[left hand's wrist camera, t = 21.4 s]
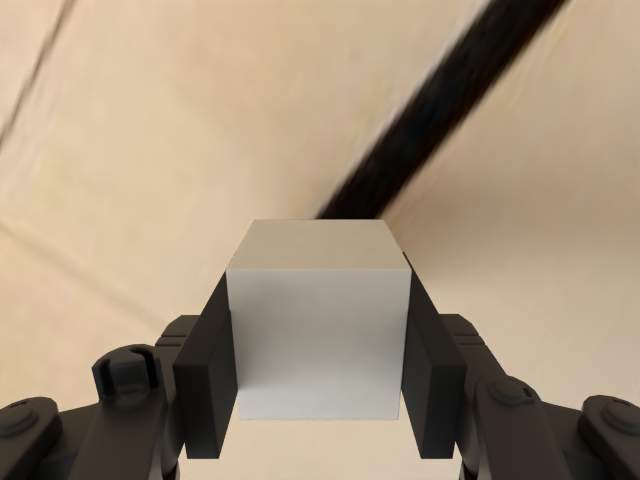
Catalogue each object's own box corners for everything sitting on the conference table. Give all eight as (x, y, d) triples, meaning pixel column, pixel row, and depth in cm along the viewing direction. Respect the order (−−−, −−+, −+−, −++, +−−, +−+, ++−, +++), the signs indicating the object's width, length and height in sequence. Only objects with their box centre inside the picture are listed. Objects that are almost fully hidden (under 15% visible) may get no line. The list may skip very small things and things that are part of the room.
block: (384, 219, 14) (412, 269, 10) (377, 335, 16) (398, 420, 11) (253, 219, 14) (225, 269, 10) (261, 335, 16) (239, 420, 12)
